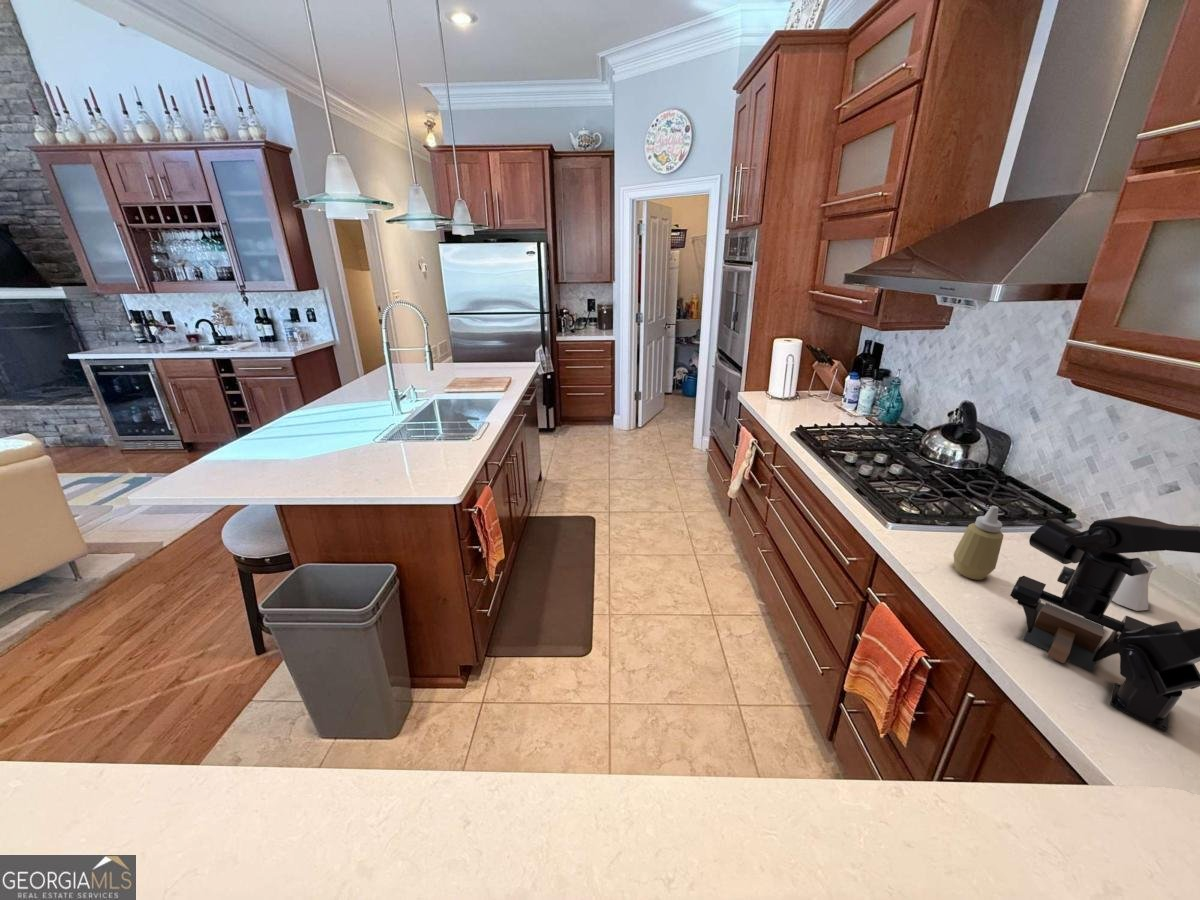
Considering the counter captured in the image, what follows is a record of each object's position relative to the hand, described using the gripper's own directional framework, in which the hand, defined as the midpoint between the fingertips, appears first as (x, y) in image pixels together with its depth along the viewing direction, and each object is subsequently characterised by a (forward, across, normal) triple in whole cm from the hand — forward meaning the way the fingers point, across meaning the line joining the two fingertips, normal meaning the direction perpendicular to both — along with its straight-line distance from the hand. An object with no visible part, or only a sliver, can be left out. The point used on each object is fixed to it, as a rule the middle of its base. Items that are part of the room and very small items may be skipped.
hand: (1060, 645), depth 90 cm
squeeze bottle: (+1, +18, -15) cm, 23 cm away
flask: (+1, -7, -30) cm, 31 cm away
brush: (+1, 0, -2) cm, 2 cm away
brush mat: (+1, 0, -6) cm, 6 cm away
